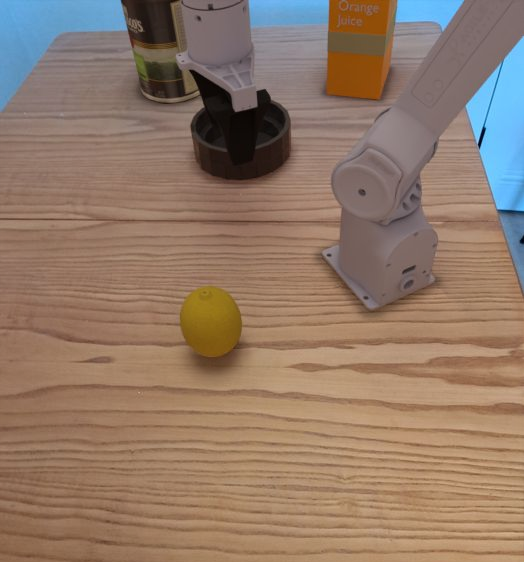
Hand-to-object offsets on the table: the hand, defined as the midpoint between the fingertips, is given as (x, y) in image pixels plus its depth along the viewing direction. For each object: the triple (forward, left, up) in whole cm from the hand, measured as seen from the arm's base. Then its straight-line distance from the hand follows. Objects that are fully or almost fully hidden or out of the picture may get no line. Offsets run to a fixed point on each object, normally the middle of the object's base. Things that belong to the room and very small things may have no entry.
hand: (231, 141), depth 59 cm
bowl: (+11, -6, -10) cm, 16 cm away
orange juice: (+18, -28, -10) cm, 34 cm away
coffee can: (+32, -5, -10) cm, 34 cm away
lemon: (-16, +10, -10) cm, 22 cm away
